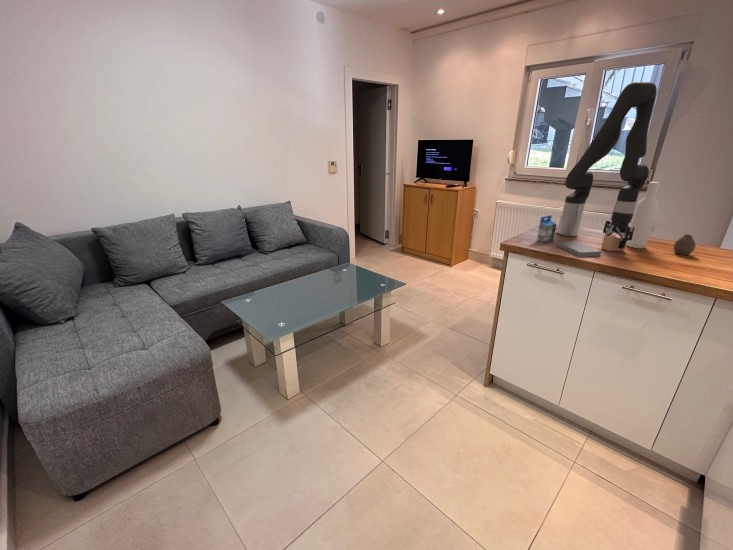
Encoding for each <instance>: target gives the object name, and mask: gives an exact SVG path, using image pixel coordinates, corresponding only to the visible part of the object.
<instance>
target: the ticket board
mask: <svg viewBox="0 0 733 550" xmlns="http://www.w3.org/2000/svg"><path fill="white" fill-rule="evenodd" d="M558 246H559V247H558ZM556 247H558V248H559V249H562V248H563V249H562V250H564V249H565V251H566V250H567V252H568V251H569V252H568V253H570V252H571V254H573V255H574V256H576V257H600V256H601V254H602V251H601V250H599V249H596V248H594V247H591V246H589V245H587V244H584V243H582V242H581V241H577V240H575V241H557V244H556Z"/></svg>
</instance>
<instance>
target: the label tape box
mask: <svg viewBox="0 0 733 550" xmlns="http://www.w3.org/2000/svg"><path fill="white" fill-rule="evenodd" d="M552 217H553V214H551V215H546V216H541V217H540V221H539V226H538V231H537V232H538V233H537V238H536V239H537V240H536V241H537V242H540V241H541V243H546V242H550V241H554V240H555V234H556V231H557V223H556V222H554V220H551V219H552Z"/></svg>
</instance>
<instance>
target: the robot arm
mask: <svg viewBox="0 0 733 550" xmlns="http://www.w3.org/2000/svg"><path fill="white" fill-rule="evenodd" d="M657 90H658V89H657V85H656V84H655V83H654V82H651V81H650V82H649V81H633V82H631V83H628V85H626V86H625V87H624V88H623V89H622V91H621V92H620V94H619V95H618V97H617V100H616V101H615V104H614V105H613V106H612V108H611V110H610V112H609V114H608V116H607V118H606V120H604V122H603V124H602V126H601V127H600V129H599V130H598V132H597V133H596V135H595V136H594V138H593V139H592V141H591V142H590V144H589V146H588V147H587V149H586V150H585V152H584V153H583V154H582V156H581V157H580V159H579V160H578V161H577V163H576V164H575V165H574V166H573V168H572V169H571V170H570V171H569V172H568V175H567V176H566V179H565V181H564V183H565V184H564V185H565V188H567V189H569V190H574V192H572V193H570V194H568V195H567V196H566V197H565V200H564V204H563V210H562V214H561V215H560V219H559V224H558V228H557V233H558V234H559V235H561V234H562V236H565V237H567V236H568V237H576V236H578V235H579V230H580V225H581V222H582V218H583V214H584V210H585V205H586V202H587V199H589V196H590V193H591V189H592V186H593V182H594V175H593V172H592V171H591V170H590V169H591V167H592V166H594V165H595V164H596V163H598V162H599V161H601V160H602V159H603V158H605V157H607V155H608V154H609V153H610V152H611V151H612V149H614V147H615V145H616V144H617V143H618V141H619V139H620V137H621V133H622V125H623V121H624V119H625V118H626V116H627V114H628V113H629V112H630V110H632V108H635V112H636V115H635V119H634V122H633V124H632V126H631V128H630V129H629V131H628V133H627V137H626V140H625V149H624V151H625V152H624V154H625V155H624V158H623V159H622V163H621V166H620V170H619V176H620V179H621V181H623V182H627V184H626V185H625V186H622V187H621V188H620V189H619V191H618V194H617V198H616V202H615V204H614V207H613V210H612V214H611V217H610V220H606V221H605V224H604V227H603V229H602V230H603V231H602V233H603V234H604V236H612V235H613V234H615V233H616V234H617V235H619V236H620V239H621V240H620V243H619V246H618V248H619V249H623V248H624V247H625V244H626V241H628V240H632V236H633V232H634V227H630V226H629V224H631V223H632V220H633V216H634V213H635V210H636V206H637V200H638V197H639V194H640V191H641V190H642V188H643V186H644V185H645V183H646V181H647V180H648V177H649V175H650V168H649V167H648V166H647V165H646V164H641V163H640V164H639V161H640V159H641V158H643V157H645V156H646V155H647V148H648V147H647V146H648V145H647V144H648V132H649V127H650V122H651V118H652V114H653V110H654V106H655V101H656V98H657ZM623 236H624V237H623ZM628 236H629V238H628ZM625 248H626V247H625Z"/></svg>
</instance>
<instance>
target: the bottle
mask: <svg viewBox="0 0 733 550" xmlns="http://www.w3.org/2000/svg"><path fill="white" fill-rule="evenodd" d="M648 183H649V184H647V190H646V193H645V196H644V197H643V198H642V199H639V201H638V203H636V206H635V210H634V214H633V217H632V220H631V222H630V226H629V227H634V232H633V236H632V240H628V241H627V243H626V247H628V246H629V247H630V248H632V247H633V248H632V249H645V248H646V246H647V244H648V240H649V237H650V234H651V230H652V227H653V225H654V220H655V218H656V215H657V211H658V208H659V201H658V200H657V198H656V196H657V193H658V190H659V187H660V184H661V183H660V182H657V181H649V182H648ZM628 238H629V236H628ZM629 247H628V248H629Z"/></svg>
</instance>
